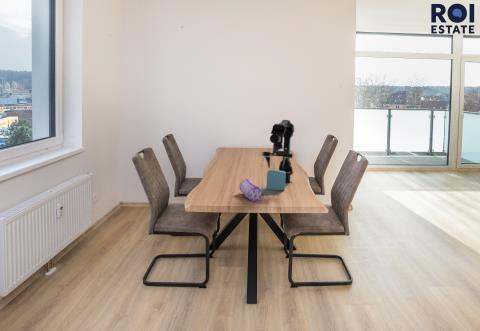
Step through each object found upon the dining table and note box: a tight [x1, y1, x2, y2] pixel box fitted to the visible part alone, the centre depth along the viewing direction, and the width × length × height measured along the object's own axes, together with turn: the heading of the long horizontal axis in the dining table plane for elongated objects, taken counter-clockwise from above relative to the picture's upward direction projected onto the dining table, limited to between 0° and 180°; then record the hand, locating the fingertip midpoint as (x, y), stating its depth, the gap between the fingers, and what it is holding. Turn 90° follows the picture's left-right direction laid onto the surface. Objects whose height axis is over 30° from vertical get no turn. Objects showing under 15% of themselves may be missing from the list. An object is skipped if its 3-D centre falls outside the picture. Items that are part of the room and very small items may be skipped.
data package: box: [265, 169, 286, 191], centre depth 286 cm, size 12×4×12 cm, turn 85°
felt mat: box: [259, 187, 282, 196], centre depth 281 cm, size 12×16×1 cm
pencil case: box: [238, 177, 265, 202], centre depth 265 cm, size 22×9×10 cm, turn 18°
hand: (276, 168), depth 280 cm, fingers open, 9 cm apart
